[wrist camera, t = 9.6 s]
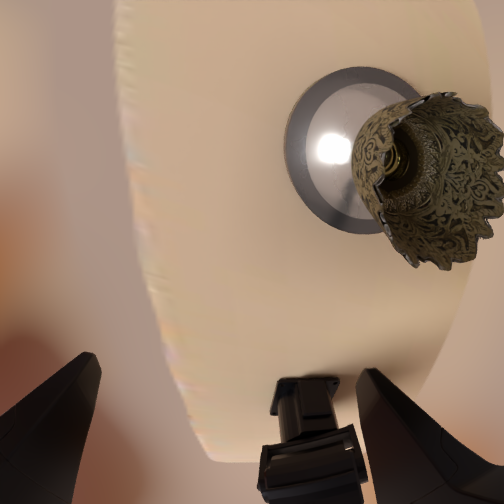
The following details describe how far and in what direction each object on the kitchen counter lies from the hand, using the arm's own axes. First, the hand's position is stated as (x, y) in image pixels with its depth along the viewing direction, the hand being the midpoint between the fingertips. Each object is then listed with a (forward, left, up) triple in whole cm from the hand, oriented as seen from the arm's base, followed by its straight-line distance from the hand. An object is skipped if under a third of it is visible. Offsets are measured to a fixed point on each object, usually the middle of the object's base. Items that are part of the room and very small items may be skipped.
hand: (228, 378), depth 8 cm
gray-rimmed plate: (+6, -8, -12) cm, 16 cm away
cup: (+6, -8, -11) cm, 15 cm away
